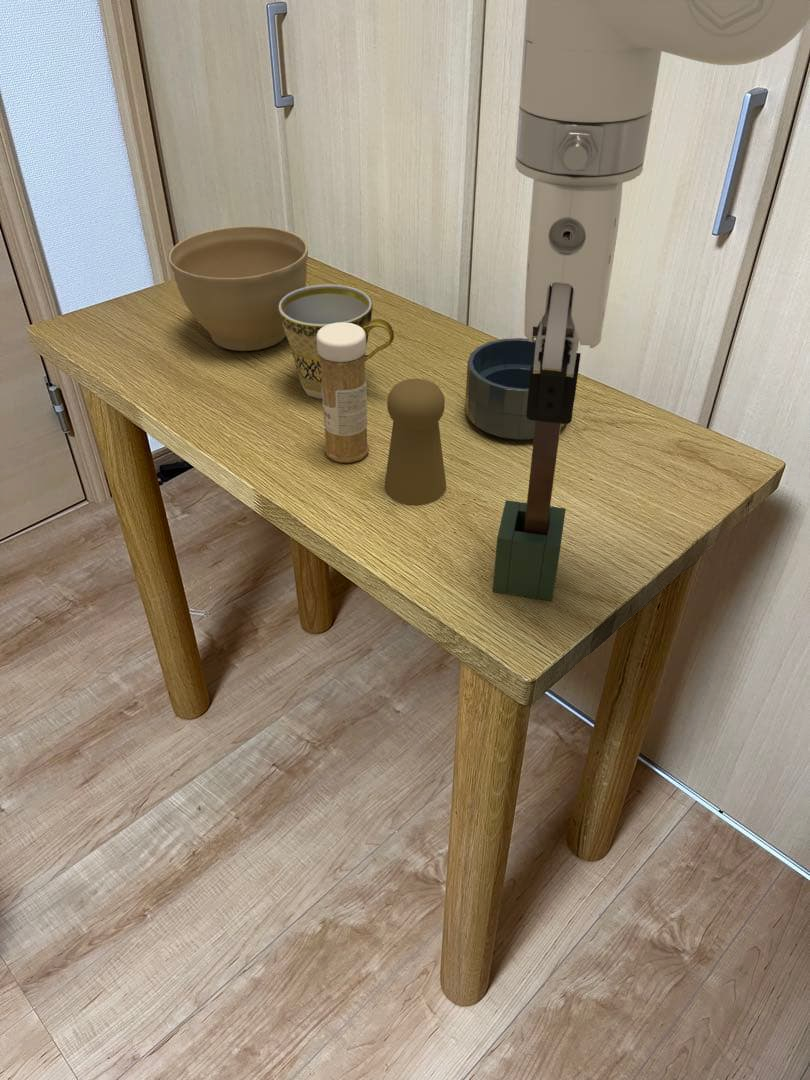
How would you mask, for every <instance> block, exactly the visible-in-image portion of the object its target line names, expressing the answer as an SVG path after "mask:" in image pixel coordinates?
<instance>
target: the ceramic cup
mask: <svg viewBox="0 0 810 1080" xmlns="http://www.w3.org/2000/svg"><path fill="white" fill-rule="evenodd" d="M373 306H374V305H373V300H372V298H371V297H370V295H368V293H366V292H364V291H363V290H361V289H359V288H356V287H353V286H349V285H343V284H336V283H335V284H333V283H327V284H323V283H322V284H314V285H308V286H305V287H303V288H300V289H297V290H295V291H292V292H290V293H289V294H287V295H286V296H285V297H283V298H282V300H281V301H280V303H279V312H280V316H281V320H282V324H283V327H284V331H285V334H286V339H287V341H288V344H289V346H290V350H291V355H292V357H293V361H294V365H295V367H296V371H297V376H298V379H299V382H300V384H301V387H302V388H303V390H304V392H305V394H306V395H307V397H311V398H315V399H318V400H322V378H321V364H320V357H319V353H318V351H317V333H318V331H319V330H320V329H321V328H322V327H324V326H326V325H329V324H332V323H340V322H345V323H352V324H355V325H358V326H360V327H361V328H362V329H363V330H364V331H365V334H366V347H367V345H368V340H369V334H370V332H371V330H373V329H374V328H382V329H384V330H386V331H387V333H388V335H389V338H388V341H387V342H386V343H383V344H382V345H379V346H378V347H376V348H375V349H373V350H372V351H371V352H370V353H369V354H366V352H367V351H366V352H365V362H367V361H368V360H370V359H371V358H373V357H374V356H375V355H376V354H377V353H379V352H380V351H383V350H384V349H387V348H388V347H389V346H391V345H392V343H393V342H394V338H395V332H394V330H393V327H392V325H391V324H390V323H389V322H388V321H386V320H384V319H381V318H376V319H373V320H372V315H373Z"/></svg>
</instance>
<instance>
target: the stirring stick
mask: <svg viewBox="0 0 810 1080" xmlns="http://www.w3.org/2000/svg"><path fill="white" fill-rule="evenodd" d="M569 346H570V345H565V346H564V349H567V350H568V352H569ZM544 347H545V343H544ZM561 429H562V428H561V424H560V423H551V422H542V421H536V424H535V433H534V439H533V444H532V451H531V452H532V453H531V462H530V472H529V479H528V489H527V497H526V498H527V499H526V503H527V507H526V516H525V525H524V532H526V533H533V534H540V535H547V528H548V520H549V512H550V506H551V505H552V497H553V489H554V481H555V474H556V466H557V458H558V451H559V443H560V436H561Z"/></svg>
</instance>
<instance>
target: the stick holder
mask: <svg viewBox="0 0 810 1080" xmlns="http://www.w3.org/2000/svg"><path fill="white" fill-rule="evenodd" d="M526 507H527V502H523V501H522V502H520V501H514V500H508V499H506V500H505V502H504V507H503V511H502V515H501V518H500V524H499V529H498V533H497V537H496V546H495V557H494V558H495V559H494V570H493V580H492V589H491V590H492V593H497V594H498V593H499V594H505V595H506V594H507V595H512V596H517V597H518V596H519V597H524V598H531V599H538V600H544V601H550V602H552V601H553V598H554V590H555V585H556V584H555V583H556V577H557V572H558V565H559V560H560V553H561V546H562V540H563V532H564V526H565V518H566V508H564V507H557V506H551V505H550V512H549V520H548V528H547V535H540V534H533V533H526V532H524V525H525V516H526Z"/></svg>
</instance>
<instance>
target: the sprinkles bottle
mask: <svg viewBox="0 0 810 1080" xmlns="http://www.w3.org/2000/svg"><path fill="white" fill-rule="evenodd" d="M317 351H318V353H319V357H320V364H321V378H322V399H321V401H322V415H323V427H324V435H325V438H324V439H325V445H324V452H325V454H326V456H327V457H328V458H329V459H330V460H332V461H335V462H337V463H342V464H343V463H353V462H358V461H360V460H362V459H364V458H365V457H366V456H367V455H368V453H369V450H370V447H369V444H368V399H367V398H368V397H367V396H368V394H367V377H366V361H365V355H366V353H365V352H367V346H366V334H365V331H364V330H363V329H362V328H361V327H360V326H358V325H355V324H352V323H345V322H340V323H332V324H329V325H326V326H324V327H322V328H321V329H320V330H319V331H318V333H317Z"/></svg>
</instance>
